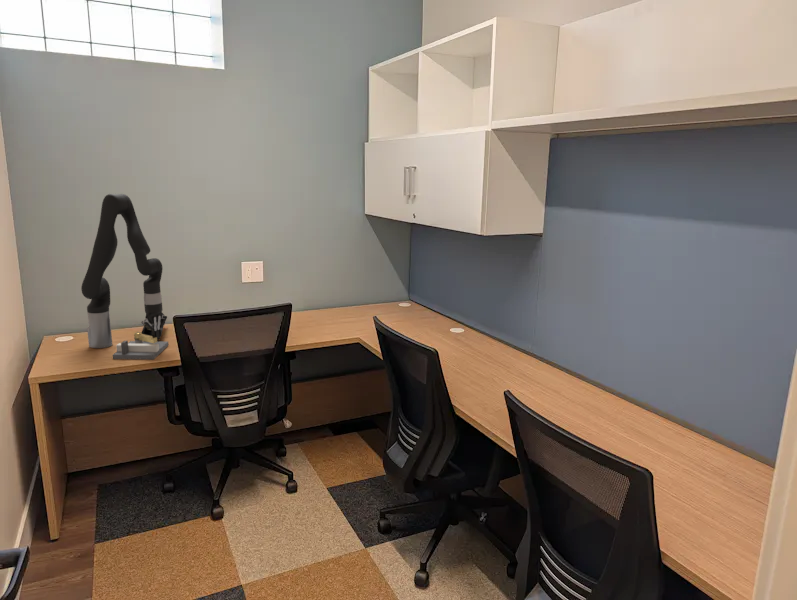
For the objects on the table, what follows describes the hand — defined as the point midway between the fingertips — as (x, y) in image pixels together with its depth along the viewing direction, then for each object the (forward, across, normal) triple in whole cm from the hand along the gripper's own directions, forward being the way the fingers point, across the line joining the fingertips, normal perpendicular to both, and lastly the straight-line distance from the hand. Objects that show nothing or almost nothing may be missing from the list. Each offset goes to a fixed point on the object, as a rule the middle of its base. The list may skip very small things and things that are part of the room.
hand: (156, 337), depth 264 cm
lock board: (+7, +4, -6) cm, 10 cm away
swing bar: (+2, +2, -4) cm, 5 cm away
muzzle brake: (+8, -17, -22) cm, 28 cm away
